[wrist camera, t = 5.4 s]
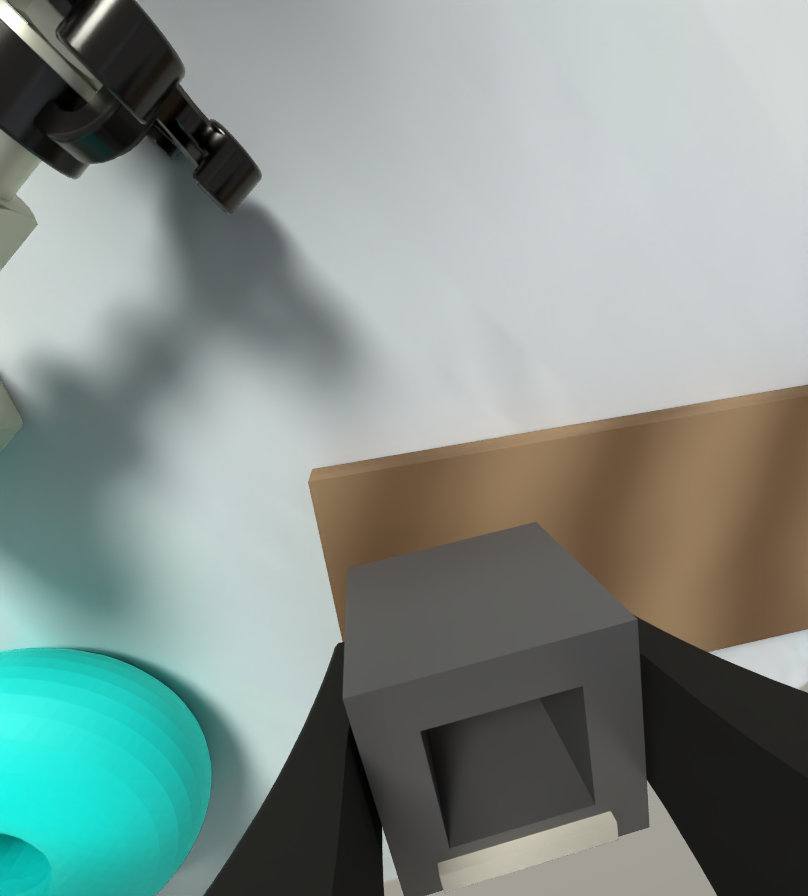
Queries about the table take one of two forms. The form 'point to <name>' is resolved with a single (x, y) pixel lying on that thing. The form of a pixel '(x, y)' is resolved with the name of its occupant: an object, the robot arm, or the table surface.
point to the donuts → (94, 776)
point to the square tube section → (493, 707)
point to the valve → (96, 111)
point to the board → (612, 510)
